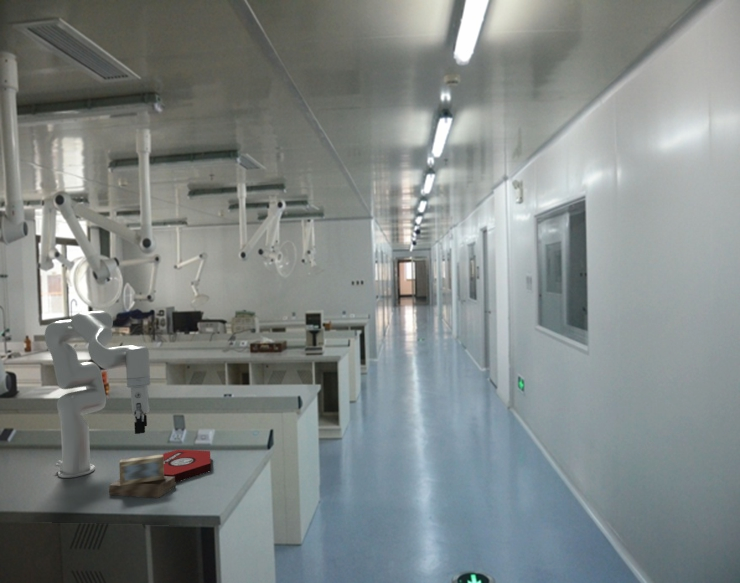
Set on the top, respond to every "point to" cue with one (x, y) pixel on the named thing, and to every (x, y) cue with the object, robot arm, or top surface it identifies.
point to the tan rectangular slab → (141, 469)
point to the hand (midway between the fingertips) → (141, 429)
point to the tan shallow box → (143, 488)
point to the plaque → (186, 463)
